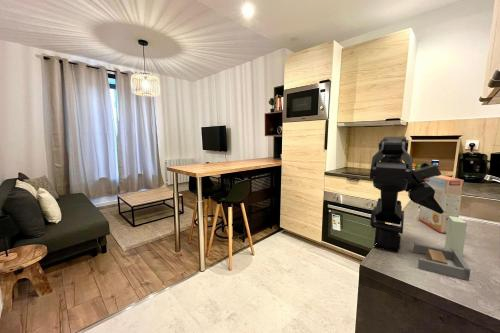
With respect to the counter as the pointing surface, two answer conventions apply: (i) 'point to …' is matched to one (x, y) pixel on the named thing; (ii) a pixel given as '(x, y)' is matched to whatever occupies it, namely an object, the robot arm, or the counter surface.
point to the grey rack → (456, 271)
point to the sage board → (455, 234)
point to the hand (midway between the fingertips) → (438, 208)
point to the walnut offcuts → (436, 256)
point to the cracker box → (443, 202)
